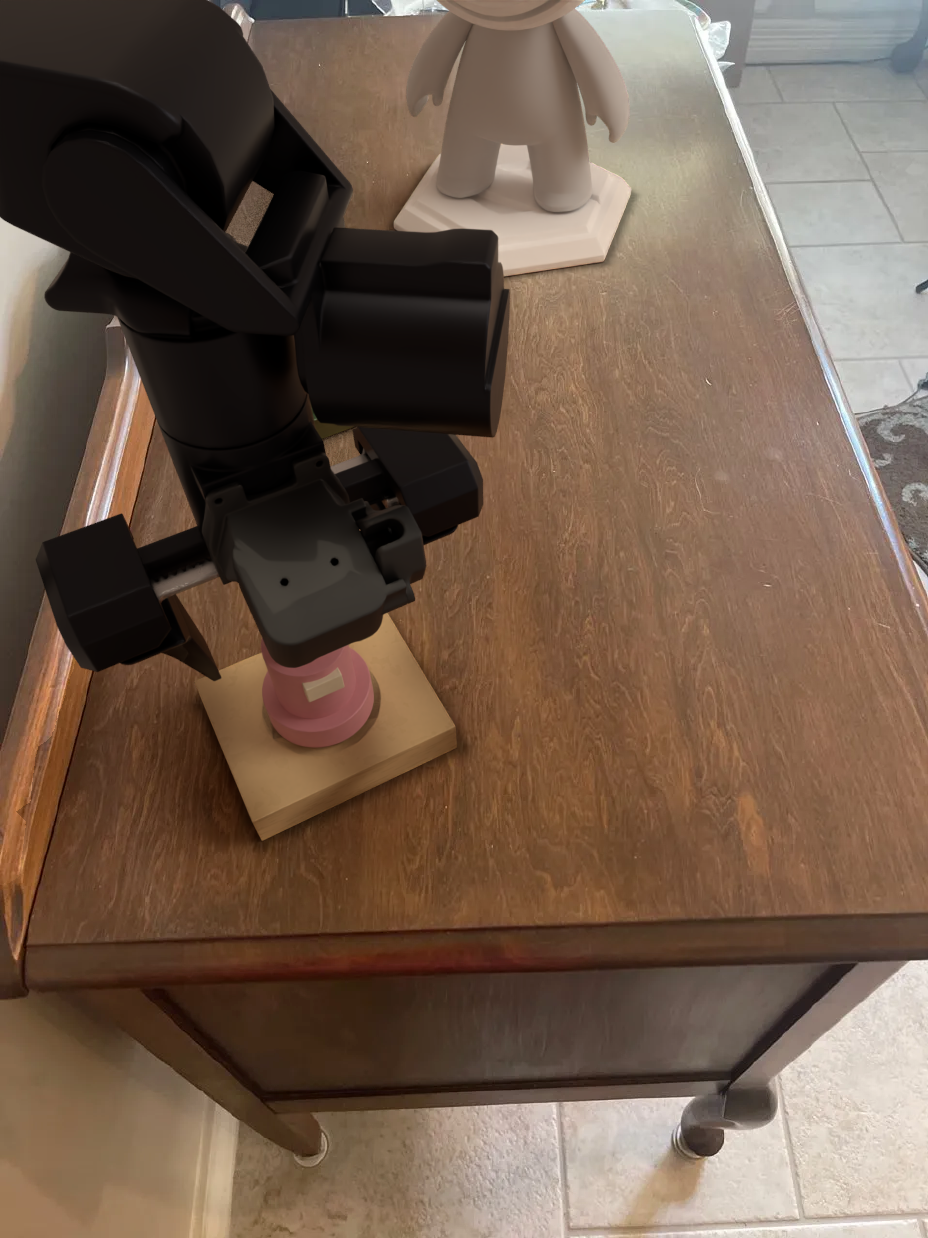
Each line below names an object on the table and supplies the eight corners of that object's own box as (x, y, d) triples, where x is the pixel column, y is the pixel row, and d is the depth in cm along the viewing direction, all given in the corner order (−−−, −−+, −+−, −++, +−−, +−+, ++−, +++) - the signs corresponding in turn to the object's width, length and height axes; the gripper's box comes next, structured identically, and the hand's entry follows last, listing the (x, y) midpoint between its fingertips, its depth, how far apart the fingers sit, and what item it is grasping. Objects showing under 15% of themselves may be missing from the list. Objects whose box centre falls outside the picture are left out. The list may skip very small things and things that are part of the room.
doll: (253, 683, 53) (211, 578, 45) (348, 642, 54) (324, 534, 47) (291, 765, 50) (253, 668, 42) (391, 719, 51) (372, 617, 44)
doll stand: (262, 841, 50) (252, 822, 48) (204, 703, 55) (193, 680, 53) (457, 748, 53) (455, 726, 51) (384, 625, 58) (380, 601, 56)
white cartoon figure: (371, 263, 82) (306, -273, 54) (452, 140, 95) (433, -346, 67) (588, 299, 78) (641, -261, 50) (642, 165, 91) (708, -341, 63)
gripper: (26, 651, 28) (171, 852, 40) (556, 442, 33) (538, 679, 45) (-38, 432, 34) (106, 666, 46) (418, 282, 39) (436, 531, 51)
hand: (301, 637), depth 47 cm, fingers open, 9 cm apart
